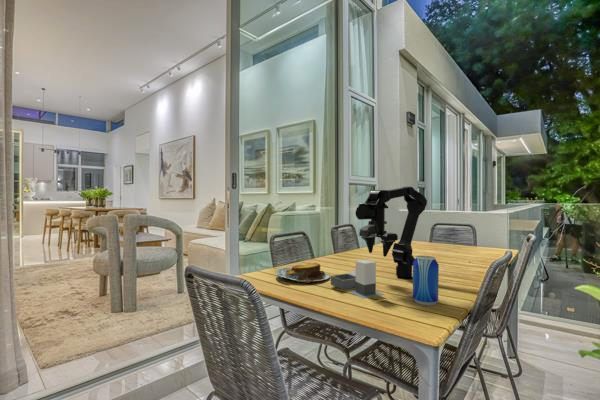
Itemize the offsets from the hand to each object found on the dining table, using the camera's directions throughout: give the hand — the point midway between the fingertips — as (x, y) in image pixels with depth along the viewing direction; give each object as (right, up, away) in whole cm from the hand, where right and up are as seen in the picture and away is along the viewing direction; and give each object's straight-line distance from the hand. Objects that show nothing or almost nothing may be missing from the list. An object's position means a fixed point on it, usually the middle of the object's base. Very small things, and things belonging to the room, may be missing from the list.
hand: (377, 254), depth 137 cm
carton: (-15, -12, -7) cm, 20 cm away
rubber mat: (-9, -12, -16) cm, 22 cm away
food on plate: (-33, -12, +7) cm, 36 cm away
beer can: (+11, -13, -25) cm, 30 cm away
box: (-9, -12, -16) cm, 22 cm away
